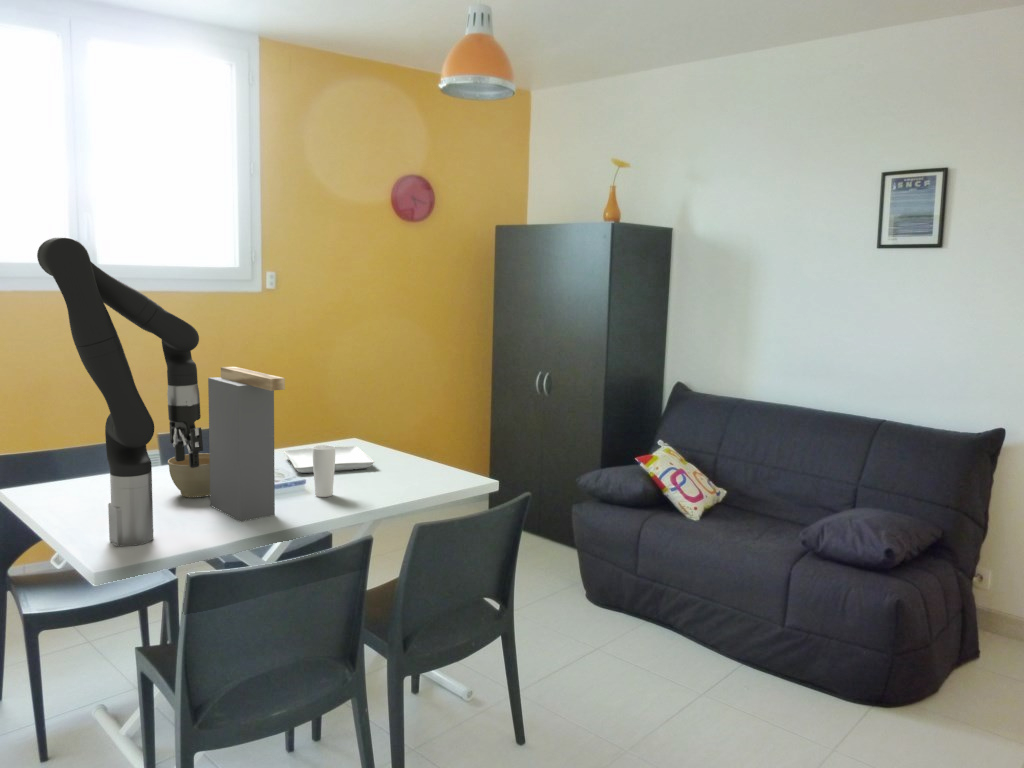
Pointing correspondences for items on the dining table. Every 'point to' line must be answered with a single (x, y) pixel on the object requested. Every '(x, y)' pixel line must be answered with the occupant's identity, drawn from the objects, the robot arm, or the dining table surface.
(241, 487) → the stand
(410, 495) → the dining table surface
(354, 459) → the square plate
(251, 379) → the block
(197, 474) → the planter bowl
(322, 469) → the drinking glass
